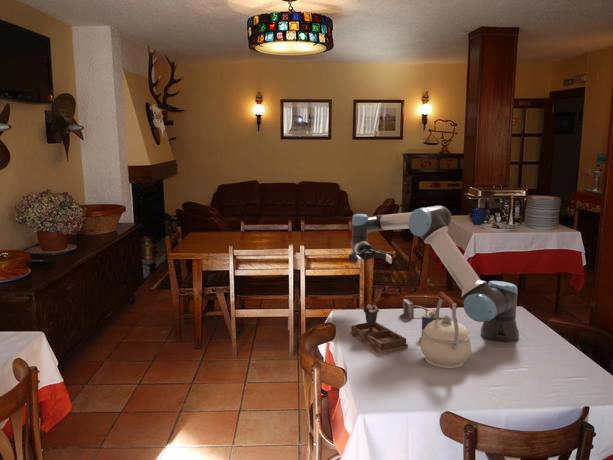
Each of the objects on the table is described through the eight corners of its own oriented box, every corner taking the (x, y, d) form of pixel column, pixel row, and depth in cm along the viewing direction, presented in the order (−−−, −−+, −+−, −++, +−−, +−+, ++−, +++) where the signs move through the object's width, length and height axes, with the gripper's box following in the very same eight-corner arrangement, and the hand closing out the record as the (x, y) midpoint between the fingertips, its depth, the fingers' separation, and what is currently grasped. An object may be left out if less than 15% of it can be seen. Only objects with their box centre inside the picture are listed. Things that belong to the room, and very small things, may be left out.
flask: (442, 335, 221) (443, 311, 219) (444, 338, 218) (445, 313, 216) (420, 335, 222) (421, 311, 220) (422, 338, 219) (422, 313, 217)
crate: (407, 347, 209) (408, 338, 208) (380, 354, 203) (381, 344, 202) (374, 329, 229) (375, 320, 228) (349, 334, 223) (349, 325, 222)
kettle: (479, 372, 187) (483, 306, 182) (429, 374, 186) (432, 307, 181) (455, 345, 211) (458, 285, 207) (410, 346, 210) (412, 286, 206)
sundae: (380, 331, 222) (381, 297, 220) (376, 336, 216) (377, 301, 213) (364, 329, 224) (365, 295, 222) (361, 334, 218) (362, 300, 216)
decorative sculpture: (437, 315, 247) (438, 300, 246) (438, 322, 238) (438, 307, 236) (402, 313, 250) (403, 298, 249) (402, 320, 241) (402, 304, 240)
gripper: (389, 257, 249) (403, 268, 228) (338, 259, 246) (347, 270, 225) (390, 241, 248) (403, 251, 227) (338, 243, 245) (347, 253, 224)
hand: (375, 261), depth 226 cm, fingers open, 13 cm apart
